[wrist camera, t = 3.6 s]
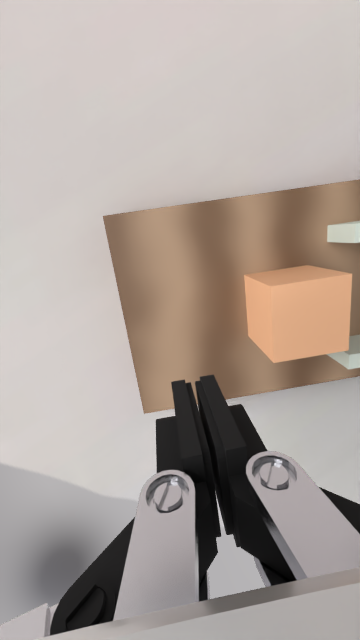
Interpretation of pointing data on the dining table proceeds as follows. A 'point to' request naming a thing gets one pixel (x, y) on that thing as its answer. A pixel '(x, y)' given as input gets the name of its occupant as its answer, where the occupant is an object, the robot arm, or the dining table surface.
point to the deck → (224, 286)
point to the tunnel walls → (356, 354)
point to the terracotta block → (299, 311)
